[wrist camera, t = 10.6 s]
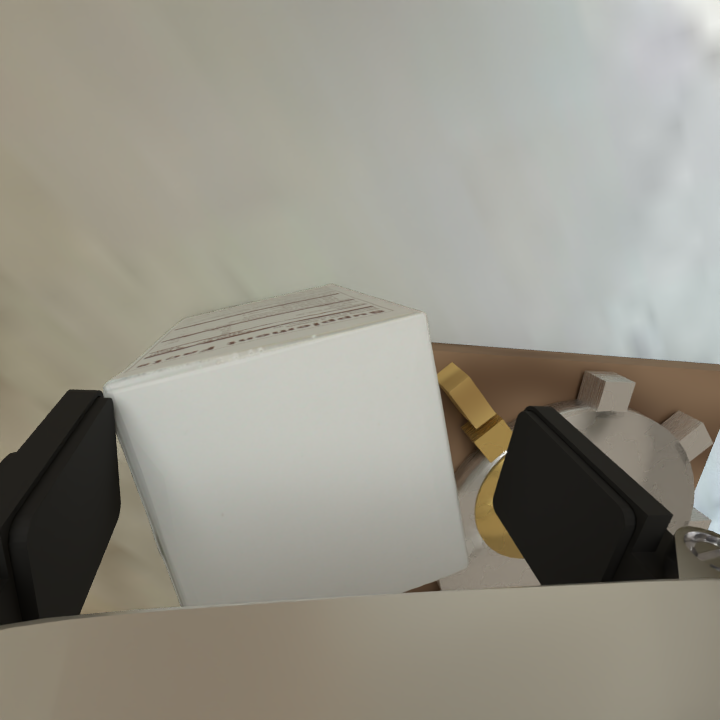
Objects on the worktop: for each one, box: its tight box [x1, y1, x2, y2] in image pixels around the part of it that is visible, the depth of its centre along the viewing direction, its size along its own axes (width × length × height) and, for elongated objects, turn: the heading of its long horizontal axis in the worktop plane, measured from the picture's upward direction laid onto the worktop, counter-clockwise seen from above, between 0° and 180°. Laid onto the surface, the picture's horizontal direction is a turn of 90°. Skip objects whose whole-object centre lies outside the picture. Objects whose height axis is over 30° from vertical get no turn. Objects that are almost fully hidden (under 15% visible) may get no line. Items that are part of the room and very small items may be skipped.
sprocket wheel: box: [436, 371, 713, 591], centre depth 25 cm, size 19×19×6 cm
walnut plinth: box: [403, 342, 720, 593], centre depth 28 cm, size 20×20×4 cm
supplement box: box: [103, 284, 469, 607], centre depth 17 cm, size 7×7×13 cm
